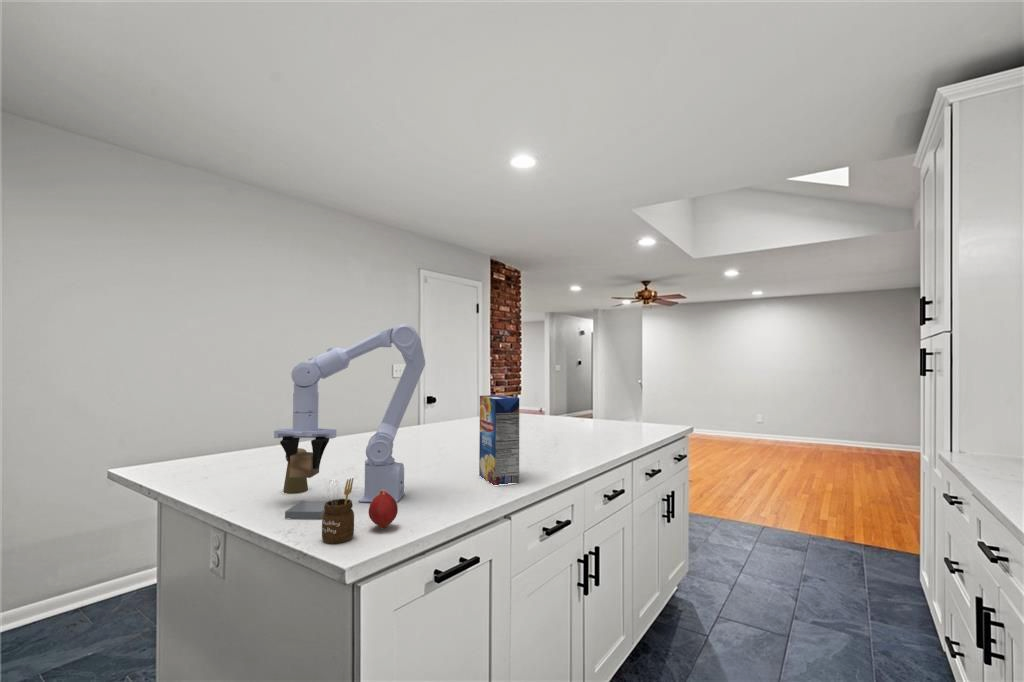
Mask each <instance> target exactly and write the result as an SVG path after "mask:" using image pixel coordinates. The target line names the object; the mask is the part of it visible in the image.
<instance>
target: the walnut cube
mask: <svg viewBox="0 0 1024 682" xmlns="http://www.w3.org/2000/svg"><path fill="white" fill-rule="evenodd" d="M319 473H320V467H319V468H317V469H313V451H312V452H311V451H306V452H299V453H296V454H294V455H291V456H290V473H289V477H299V478H307V479H312V478H313V477H314V476H316V475H318V474H319Z"/></svg>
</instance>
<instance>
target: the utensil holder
mask: <svg viewBox="0 0 1024 682" xmlns="http://www.w3.org/2000/svg"><path fill="white" fill-rule="evenodd" d="M331 482H332V486H331V487H332V490H334V486H335V485H334V482H337V480H335V479H334V482H333V479H331V480H330V481H328V482H327V484H326V486H330V484H331ZM345 482H346V483H345V488H344V493H343V495H344V496H345V498H339V497H340V490H341V489H340V488H341V487H340V486H339V485H340V483H339V482H337V483H335V484H336V486H338V489H336V490H337V494H336V493H335V491H333V495H332V497H333V499H332V497H331V494H329V493H330V492H331V491H330V490H331V489H330V488H331V487H328V488H327V491H326V492H327V497H328V498H330V499H329V500H327V501H328V502H326V503H325V506H324V510H325V512H324V514H323V517H322V519H321V539H322V541H323V542H324V543H326V544H331V545H333V544H335V545H336V544H342V543H346V542H348V541H350V540H352V539H353V537H354V534H355V512H354V510H353V506H354V505H353V501H352V500H351V499H349V495H350V494H351V493H352V491H353V490H352V489H353V484H354V477H352V478H349V479H346V481H345ZM335 495H337V498H335Z"/></svg>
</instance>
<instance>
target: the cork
mask: <svg viewBox="0 0 1024 682" xmlns="http://www.w3.org/2000/svg"><path fill="white" fill-rule="evenodd" d="M299 452H307V450H306V449H304V448H299V447H298V451H297V453H299ZM285 460H286V461H287V466H286V472H285V476H284V477H285V478H284V482H283V483H284V484H283V489H282V492H284V493H283V494H285V493H287V494H286V495H297V494H302V493H306V492H308V491H309V487H308V486H309V485H308V478H299V477H289V473H290V465H289V461H288V458H287V455H286V454H285Z"/></svg>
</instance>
